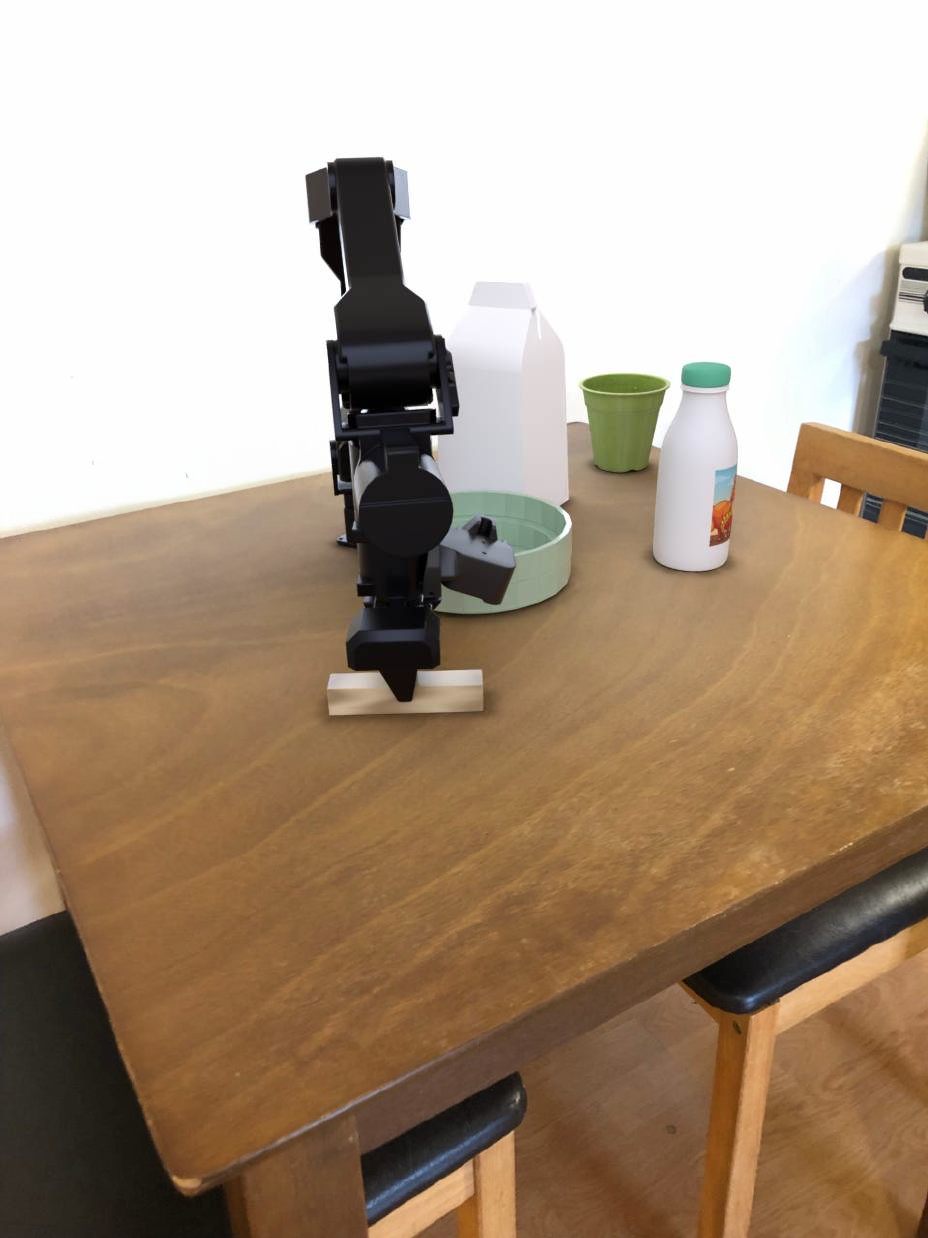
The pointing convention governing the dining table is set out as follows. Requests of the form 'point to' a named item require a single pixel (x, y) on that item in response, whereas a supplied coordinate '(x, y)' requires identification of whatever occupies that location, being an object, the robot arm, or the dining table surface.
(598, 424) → the plant pot
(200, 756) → the dining table surface
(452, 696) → the stick
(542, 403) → the milk
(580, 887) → the dining table surface
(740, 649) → the dining table surface
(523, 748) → the dining table surface
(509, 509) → the bowl
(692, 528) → the milk bottle
